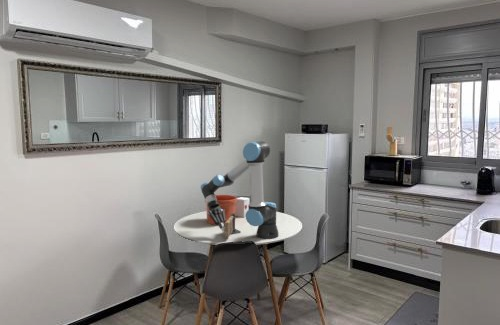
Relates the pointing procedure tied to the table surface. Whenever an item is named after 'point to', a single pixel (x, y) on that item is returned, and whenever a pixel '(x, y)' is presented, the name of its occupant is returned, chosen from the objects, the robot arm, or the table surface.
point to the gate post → (234, 224)
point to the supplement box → (242, 206)
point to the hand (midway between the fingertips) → (224, 232)
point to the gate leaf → (228, 227)
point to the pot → (224, 206)
